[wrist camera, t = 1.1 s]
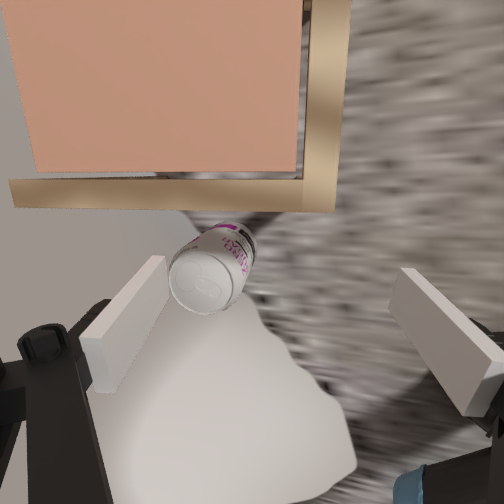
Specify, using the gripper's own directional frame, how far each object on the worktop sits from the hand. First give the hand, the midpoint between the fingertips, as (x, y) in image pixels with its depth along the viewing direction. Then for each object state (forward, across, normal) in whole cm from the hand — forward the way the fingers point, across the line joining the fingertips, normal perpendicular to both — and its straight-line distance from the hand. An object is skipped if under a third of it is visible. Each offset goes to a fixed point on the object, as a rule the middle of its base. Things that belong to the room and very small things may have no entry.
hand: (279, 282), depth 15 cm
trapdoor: (+8, +8, -14) cm, 18 cm away
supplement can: (+25, +5, +9) cm, 27 cm away
